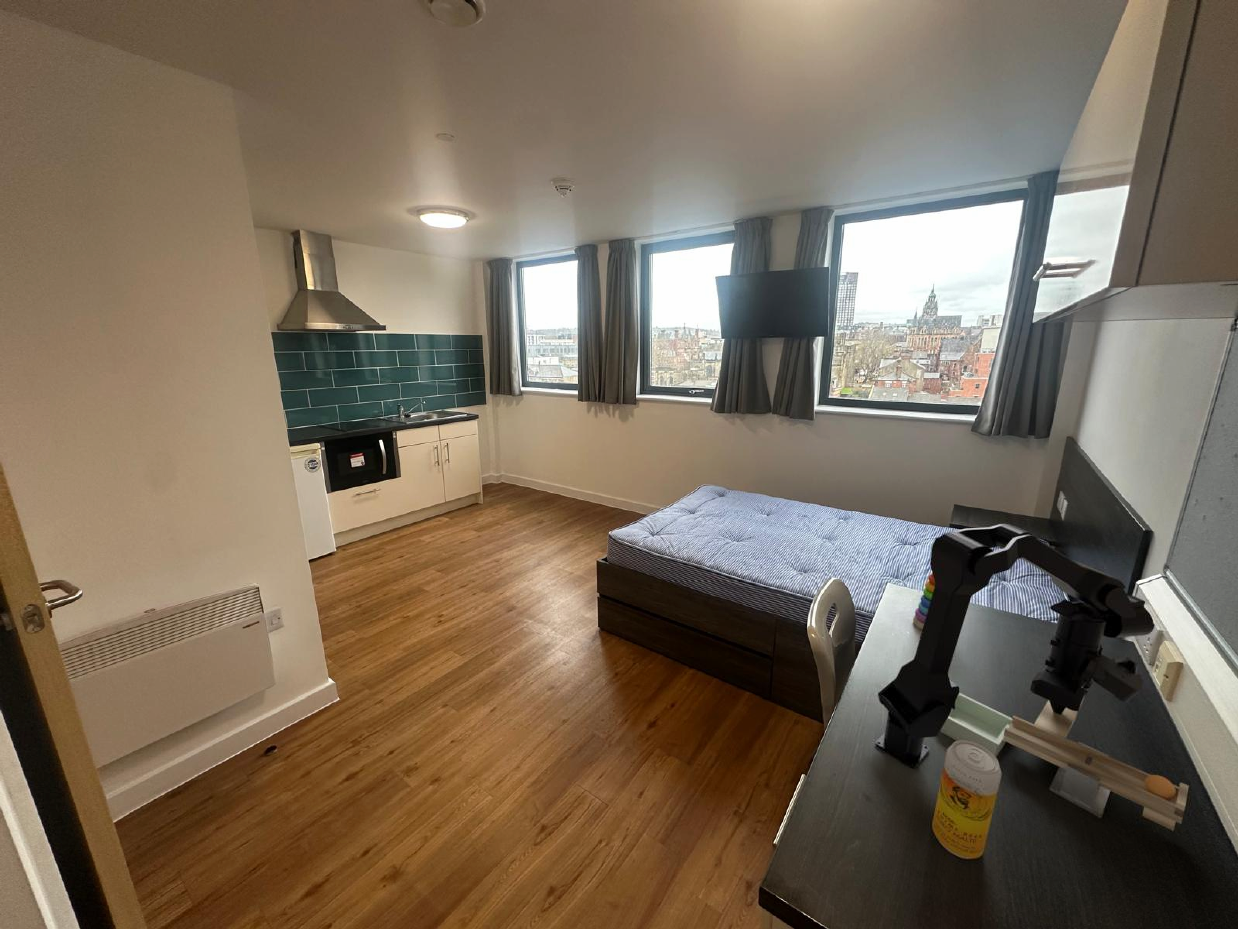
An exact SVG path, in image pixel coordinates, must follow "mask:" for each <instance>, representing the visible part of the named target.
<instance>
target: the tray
mask: <svg viewBox="0 0 1238 929" xmlns="http://www.w3.org/2000/svg"><path fill="white" fill-rule="evenodd" d="M1012 718H1013V717H1010V716H1008V715H1006V714H1004V713H1002V712H1000V711H997V710H995V709H994V708H991V707H989V706H987V705H986V704H984V703H981V702H979V701H977V700H975V699H973V698H971V697H968V696H967V695H964V694H963V693H961V692H959V695H958V697H957V699H956V701H955V709H951V712H950V714H949V716H948V718H947V720H946V722H945V723H944V725H943V727H942V728H941V730H940V732H939V733H942V734H944V735H946V736H948V737H949V738H951V739H953V740H955V741H959V740H965V741H970V742H973V743H976V744H978V745H980V746H982V747H984V748H985V749H987V750H988V751H990V752H991V753H992V754H993V755H994V756H995V757H996V758H997V757H998V755H999V754H1000V752H1001V751H1002V749H1003V747H1004V746H1005V744H1006V743H1007V742H1006V741H1004V740H1003V738H1004V730H1005V728H1009V727H1010V725H1011V723H1012Z"/></svg>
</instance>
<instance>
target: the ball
mask: <svg viewBox="0 0 1238 929" xmlns="http://www.w3.org/2000/svg"><path fill="white" fill-rule="evenodd" d="M1173 785H1174V784H1173V783H1172V782H1171V781H1170V780H1169V779H1167V778H1166V777H1164V776H1161V775H1157V774H1150V776H1148V777H1147V778H1146V779H1145V786H1146V788H1147V789H1148V791H1149V792H1150V793H1152V794H1154V795H1156V796H1158V797H1161V798H1163V799H1165V800H1170V799H1173V798H1174V797H1175V795H1176V790H1175V787H1174V786H1173Z"/></svg>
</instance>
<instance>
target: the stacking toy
mask: <svg viewBox="0 0 1238 929" xmlns="http://www.w3.org/2000/svg"><path fill="white" fill-rule="evenodd" d="M930 570H931V571H932V569H931V568H930ZM927 578H928V580H927V581H926V582H925V585H924V586H925V587H924V589H923V591H922V592H923V594H922V595H921V597H920V602H919V603H918V607H917V608H916V609H915V612H914V613H915V615H914V616H913V620H912V621H913V623H914V625H915V626H916V627H917V628H918V629H920V630H921V631H922V630H923V626H924V623H925V619H926V616H927V612H928V609H929V605H930V602H931V598H932V595H933V591H934V588H935V580H934V577H933V573H932V572H931V573H930V574H929V575H928V576H927Z"/></svg>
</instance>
